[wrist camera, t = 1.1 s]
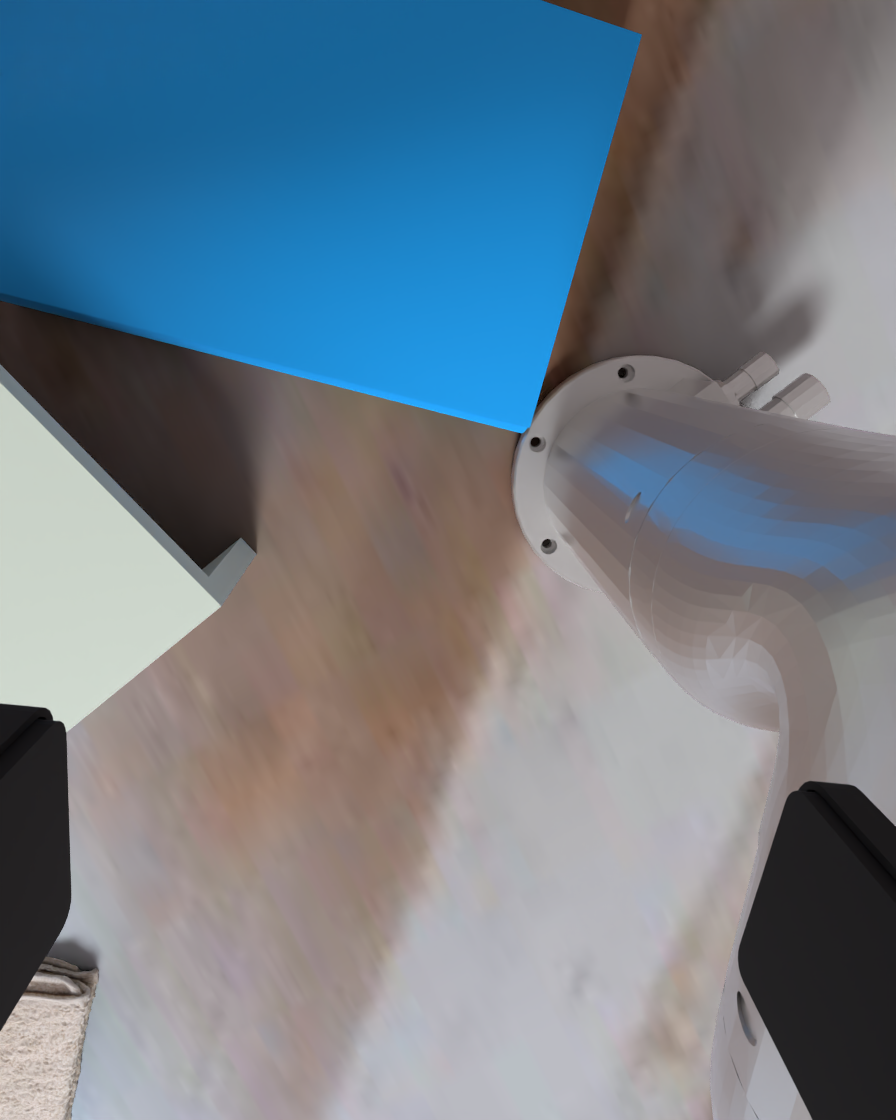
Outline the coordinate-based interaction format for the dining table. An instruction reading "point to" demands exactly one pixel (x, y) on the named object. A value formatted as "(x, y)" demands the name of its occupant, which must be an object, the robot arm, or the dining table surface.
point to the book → (312, 182)
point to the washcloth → (45, 1043)
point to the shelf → (85, 571)
